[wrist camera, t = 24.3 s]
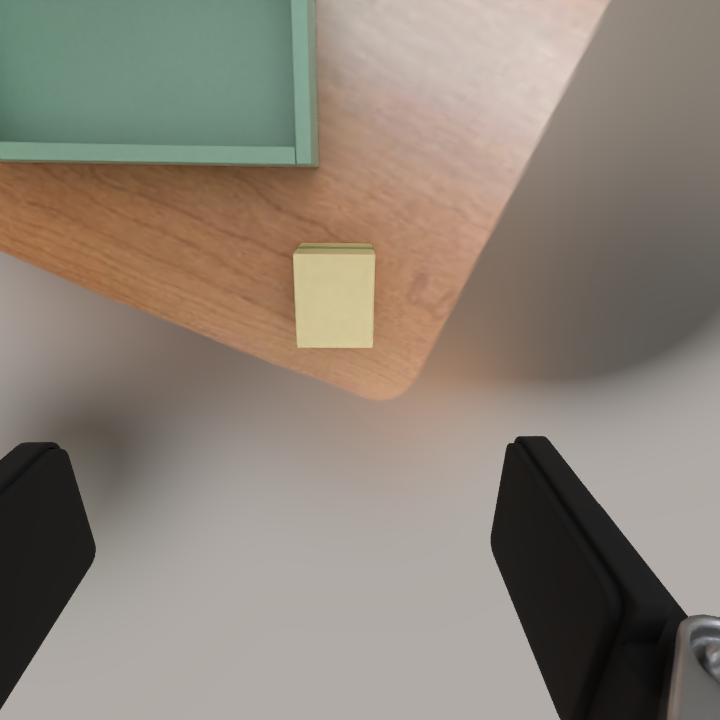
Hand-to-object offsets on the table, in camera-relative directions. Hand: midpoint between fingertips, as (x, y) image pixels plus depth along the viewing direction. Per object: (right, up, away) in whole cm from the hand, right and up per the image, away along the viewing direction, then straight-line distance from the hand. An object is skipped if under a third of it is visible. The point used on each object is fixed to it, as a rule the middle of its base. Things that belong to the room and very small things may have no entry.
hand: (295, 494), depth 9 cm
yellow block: (0, +8, +20) cm, 22 cm away
